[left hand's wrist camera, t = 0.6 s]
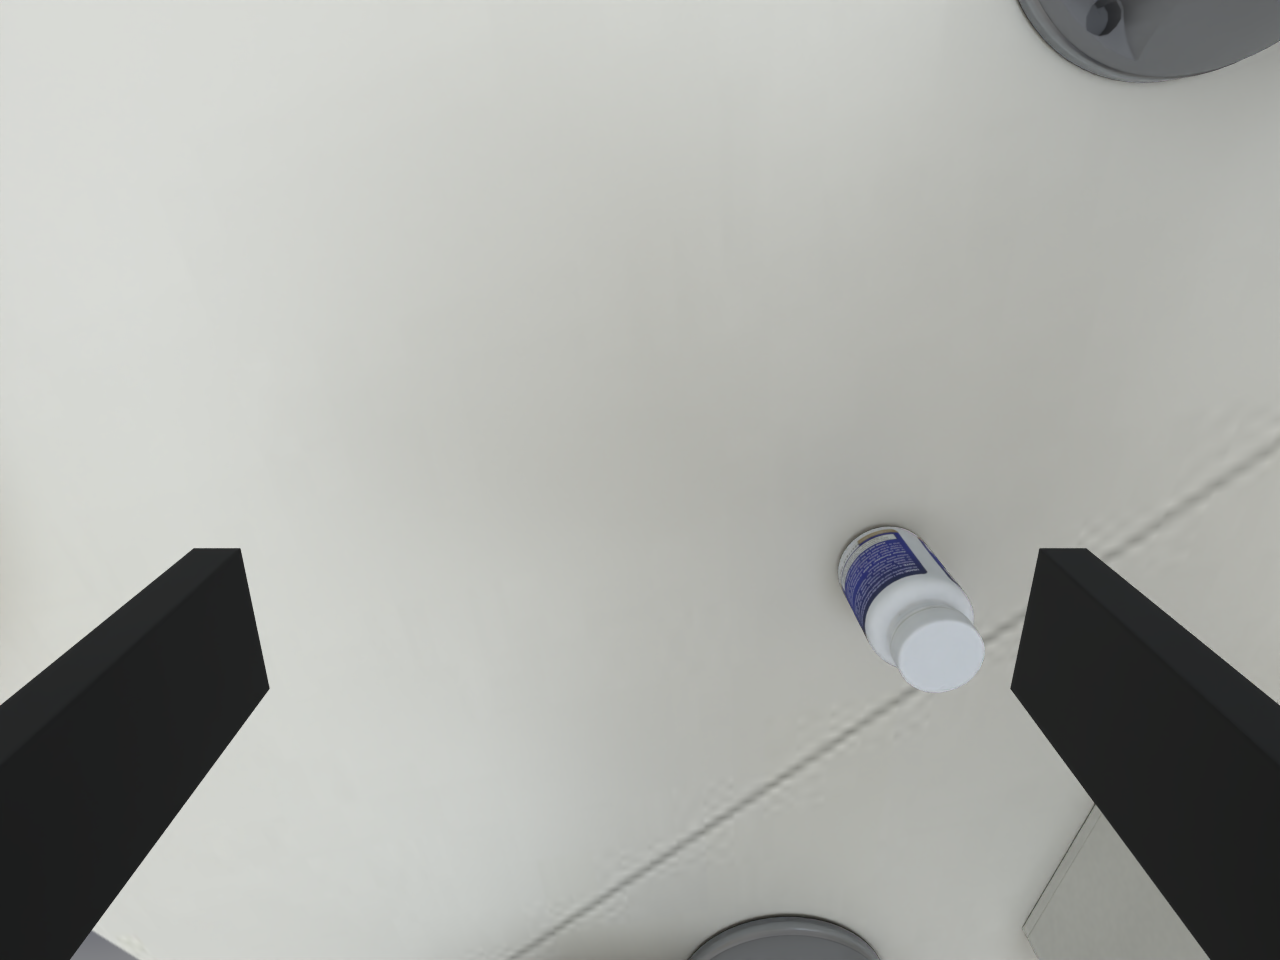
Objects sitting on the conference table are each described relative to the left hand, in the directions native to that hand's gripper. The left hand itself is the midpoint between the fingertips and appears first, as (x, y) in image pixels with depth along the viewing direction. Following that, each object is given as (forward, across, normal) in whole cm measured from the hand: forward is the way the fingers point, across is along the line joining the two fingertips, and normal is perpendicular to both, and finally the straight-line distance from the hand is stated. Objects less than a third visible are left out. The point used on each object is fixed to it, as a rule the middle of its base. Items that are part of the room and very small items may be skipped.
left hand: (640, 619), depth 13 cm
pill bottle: (+28, -14, +13) cm, 34 cm away
